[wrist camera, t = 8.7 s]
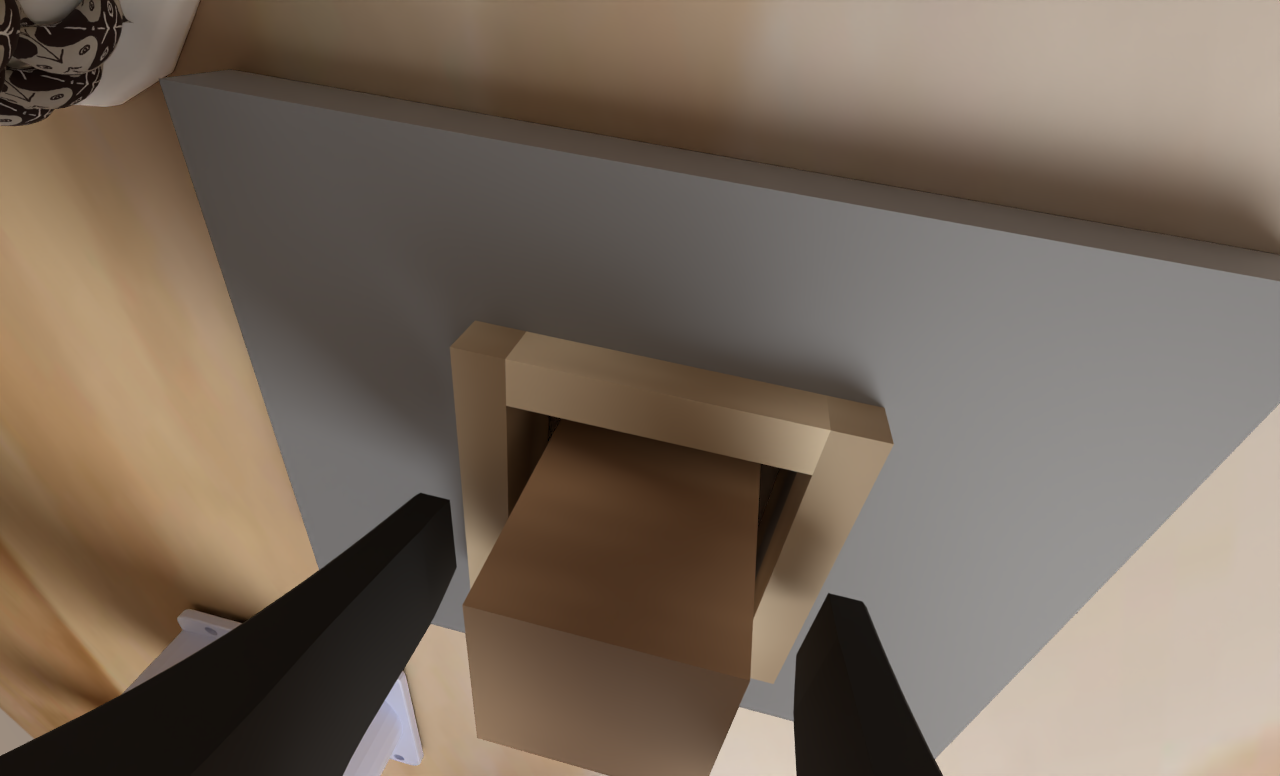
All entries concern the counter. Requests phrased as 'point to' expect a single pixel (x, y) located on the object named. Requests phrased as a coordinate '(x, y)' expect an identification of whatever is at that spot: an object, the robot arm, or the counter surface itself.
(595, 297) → the plate
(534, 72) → the counter surface
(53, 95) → the decorative candle
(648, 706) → the walnut block
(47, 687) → the counter surface
